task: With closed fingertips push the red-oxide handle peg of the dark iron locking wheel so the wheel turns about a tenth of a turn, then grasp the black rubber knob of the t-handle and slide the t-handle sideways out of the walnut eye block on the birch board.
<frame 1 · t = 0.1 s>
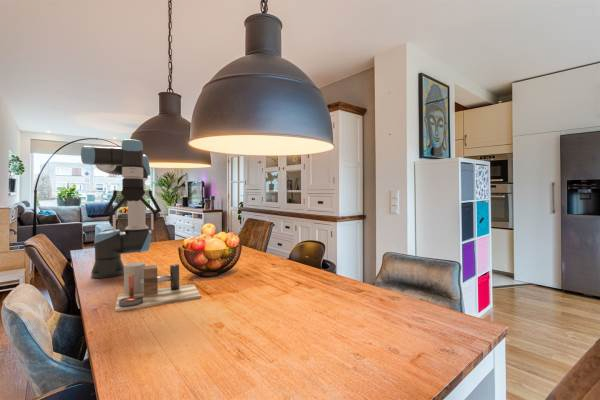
hand: (133, 230, 124), 28 cm above the table, fingers open, 13 cm apart
eye block: (150, 295, 128), on the table
handwheel: (131, 290, 116), point 6 cm above the table, hinge at 0.0°
beige solid cylinder: (135, 291, 133), on the table
t-handle: (160, 278, 130), point 6 cm above the table, slide at 0.0 cm
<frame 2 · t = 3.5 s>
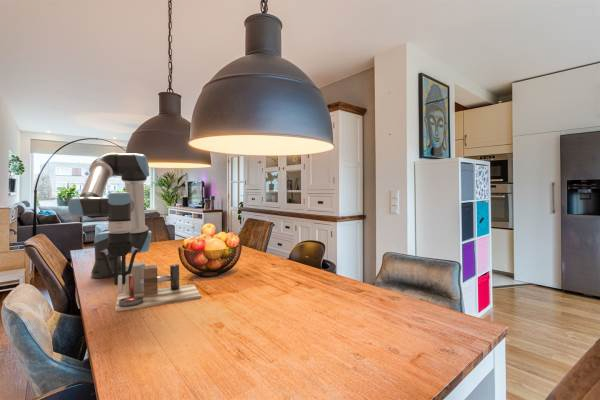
hand: (120, 292, 118), 4 cm above the table, fingers closed
handwheel: (131, 290, 116), point 6 cm above the table, hinge at -0.7°, touching gripper
everything else where it was.
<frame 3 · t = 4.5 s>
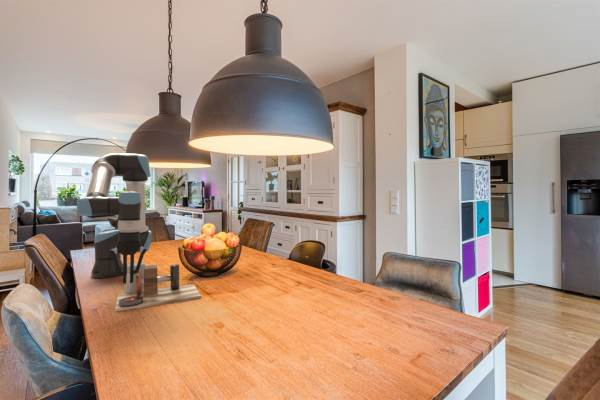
hand: (128, 291, 118), 5 cm above the table, fingers closed
handwheel: (132, 289, 116), point 6 cm above the table, hinge at -32.6°, touching gripper
everything else where it was.
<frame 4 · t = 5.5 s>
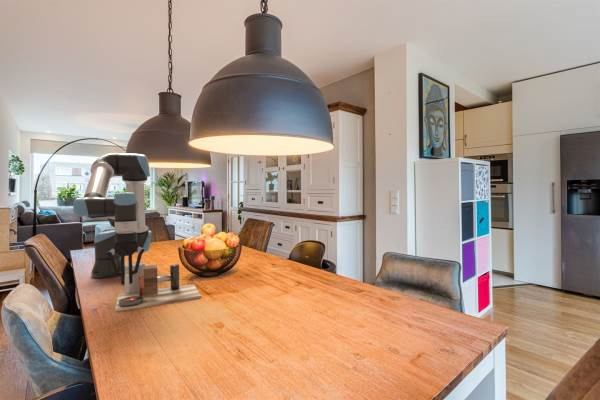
hand: (127, 292, 119), 4 cm above the table, fingers closed
handwheel: (133, 290, 116), point 6 cm above the table, hinge at -46.4°
everything else where it was.
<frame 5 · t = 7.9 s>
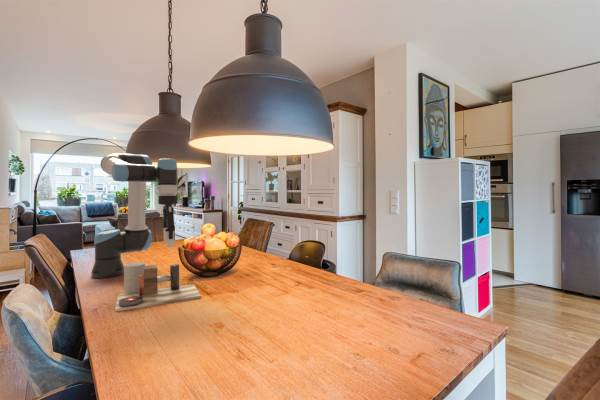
hand: (168, 244, 130), 21 cm above the table, fingers open, 13 cm apart
nothing on the table moved.
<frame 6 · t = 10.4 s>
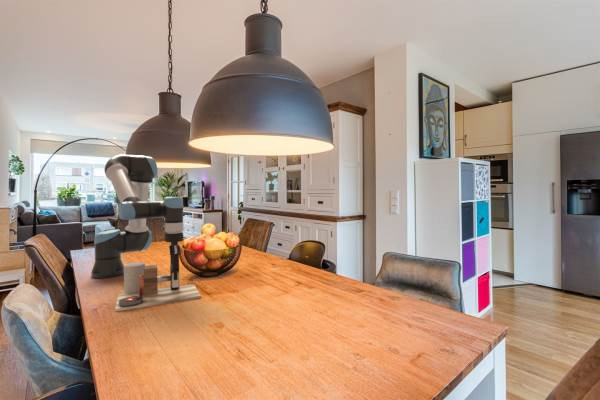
hand: (175, 285, 132), 3 cm above the table, fingers closed on t-handle, 4 cm apart
t-handle: (160, 278, 130), point 6 cm above the table, slide at 0.0 cm, touching gripper
everything else where it was.
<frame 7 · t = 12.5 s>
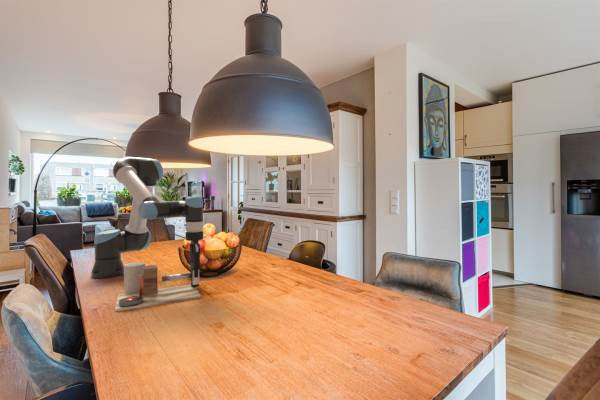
hand: (195, 282, 136), 3 cm above the table, fingers open, 4 cm apart
t-handle: (181, 276, 134), point 6 cm above the table, slide at 8.4 cm
everything else where it was.
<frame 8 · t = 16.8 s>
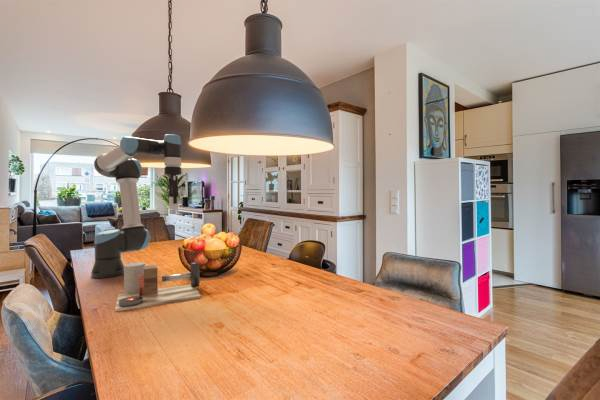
hand: (173, 210, 148), 35 cm above the table, fingers open, 13 cm apart
nothing on the table moved.
at the end: t-handle slide at 8.4 cm; handwheel at -46° (first picture: +0°); the gripper is holding nothing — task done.
